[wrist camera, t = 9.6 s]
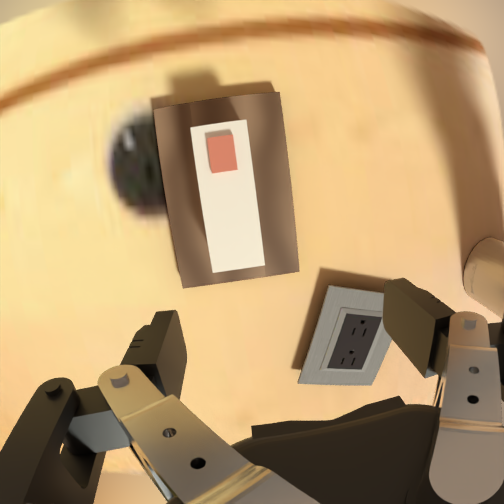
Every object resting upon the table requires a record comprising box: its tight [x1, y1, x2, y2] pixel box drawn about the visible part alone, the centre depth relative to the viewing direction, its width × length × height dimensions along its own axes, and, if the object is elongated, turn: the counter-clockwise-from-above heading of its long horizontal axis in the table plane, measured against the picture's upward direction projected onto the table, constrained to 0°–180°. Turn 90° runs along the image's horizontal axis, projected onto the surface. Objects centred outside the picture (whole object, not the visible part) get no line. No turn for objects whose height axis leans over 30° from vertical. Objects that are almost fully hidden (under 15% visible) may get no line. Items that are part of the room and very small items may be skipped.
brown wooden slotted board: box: [154, 92, 300, 288], centre depth 31 cm, size 12×18×2 cm, turn 7°
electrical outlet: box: [298, 285, 392, 385], centre depth 37 cm, size 13×10×2 cm
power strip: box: [190, 120, 265, 273], centre depth 28 cm, size 4×12×7 cm, turn 7°
